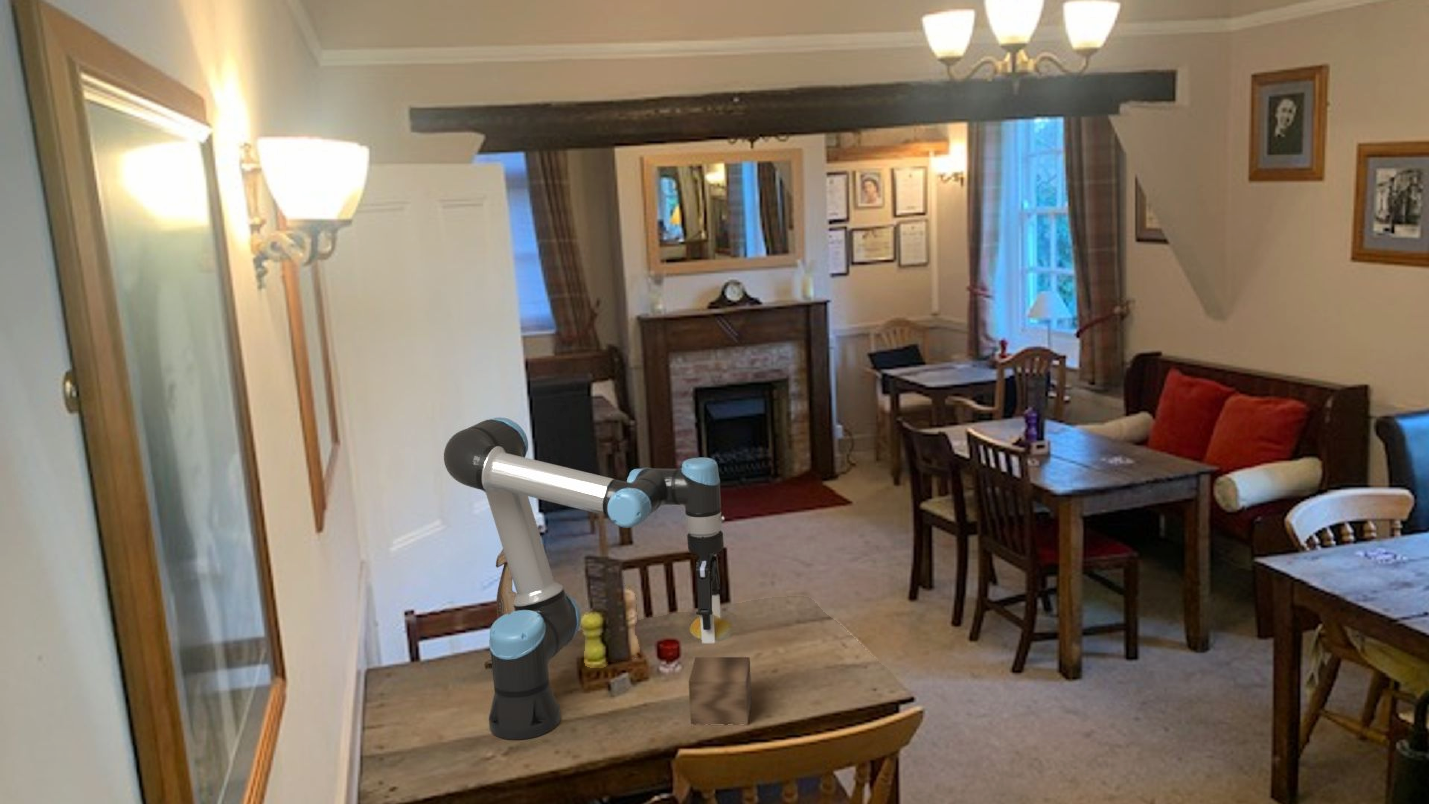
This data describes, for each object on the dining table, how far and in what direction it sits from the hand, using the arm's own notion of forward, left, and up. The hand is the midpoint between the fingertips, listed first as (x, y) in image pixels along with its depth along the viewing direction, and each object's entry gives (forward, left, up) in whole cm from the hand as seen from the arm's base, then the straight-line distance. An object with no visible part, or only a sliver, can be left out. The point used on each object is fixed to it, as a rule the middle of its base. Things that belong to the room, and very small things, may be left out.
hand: (711, 633), depth 226 cm
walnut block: (+1, 0, -18) cm, 18 cm away
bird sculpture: (-52, +22, -18) cm, 59 cm away
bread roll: (0, 0, -1) cm, 1 cm away
